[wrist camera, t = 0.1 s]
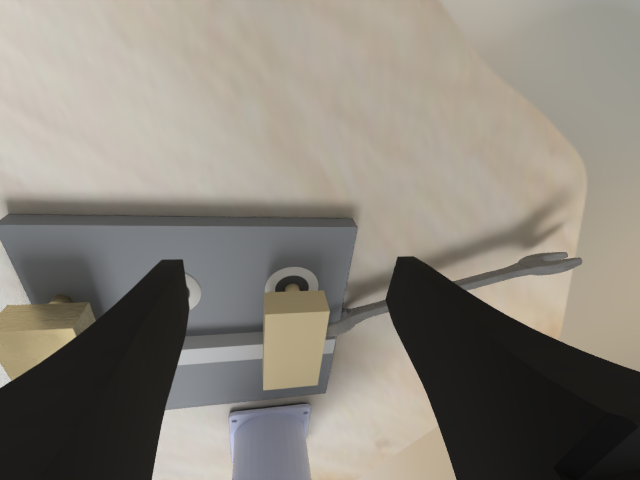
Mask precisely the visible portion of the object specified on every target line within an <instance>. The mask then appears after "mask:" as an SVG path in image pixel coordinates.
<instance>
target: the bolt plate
mask: <svg viewBox="0 0 640 480" xmlns="http://www.w3.org/2000/svg"><path fill="white" fill-rule="evenodd" d="M357 228H358V227H357V225H356V224H355V222H354V220H353V219H341V218H259V217H178V216H96V215H15V214H8V215H7V216H5V217H4V218H2V219H1V220H0V240H1V242H2V244H3V246H4V248H5V250H6V252H7V254H8V256H9V258H10V261H11V263H12V265H13V267H14V269H15V271H16V273H17V275H18V277H19V279H20V281H21V283H22V285H23V288H24V290H25V292H26V294H27V296H28V298H29V300H30V302H31V304H49V302H50V301H51V300H52V298H53V297H54V296H55V295H58V294H64V295H67V296H69V297H70V298H71V299H72V301H73V302H72V303H83V302H89V304H90V306H91V309H92V312H93V315H94V318H95V320H97V319H98V318H100V317H101V316H102V315H103V314H104V313H106V312H107V311H108V310H109V309H110V308H111V307H112V306H114V305H115V304H116V303H117V302H118V301H119V300H120V299H121V298H122V297H123V296H124V295H125V294H127V293H128V292H129V291H130V290H131V289H132V288H133V287H134V286H135V285H136V284H137V283H138V282H139V281H140V280H141V279H142V278H143V277H144V276H145V275H146V274H147V273H148V272H149V271H150V270H151V269H152V268H153V267H154V266H155V265H156V264H158V263H159V262H160V261H161V260H163V259H183V263H184V270H185V278H186V285H187V292H188V300H189V307H190V310H189V317H188V324H187V330H186V336H185V340H184V344H183V348H182V351H181V355H180V358H179V362H178V365H177V369H176V372H175V376H174V379H173V383H172V386H171V390H170V393H169V397H168V400H167V404H166V407H165V410H170V409H180V408H189V407H199V406H208V405H218V404H227V403H237V402H246V401H256V400H265V399H275V398H284V397H294V396H303V395H313V394H322V393H326V389H327V383H328V378H329V373H330V368H331V363H332V357H333V352H334V347H335V342H336V337H337V336H331V337H329V336H326V331H327V326H328V324H332V323H335V322H337V321H340V316H341V311H342V306H343V300H344V295H345V290H346V285H347V280H348V274H349V269H350V264H351V259H352V254H353V249H354V243H355V238H356V233H357Z"/></svg>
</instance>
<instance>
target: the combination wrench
mask: <svg viewBox="0 0 640 480" xmlns="http://www.w3.org/2000/svg"><path fill="white" fill-rule="evenodd" d="M567 257H568V254H567V253H566V252H554V253H540V254H534V255H530V256H527V257H524V258H522V259H521V260H519V262H518V263H516V264H513V265H511V266H509V267H506V268H503V269H499V270H496V271H491V272H487V273H483V274H479V275H476V276H472V277H468V278H465V279H461V280H457V281H453V282H454V283H455V284H457V285H458V286H460V287H461V288H463V289H464V290H466V291H467V290H471V289H474V288H478V287H482V286H485V285H489V284H493V283H496V282H500V281H504V280H507V279H511V278H515V277H520V276H526V275H550V274H557V273H561V272H565V271H568V270H570V269H573V268H575V267H576V266H579V265H580V264H582V259H581V258H570V259H564V258H567ZM561 259H562V260H561ZM387 312H389V310H388V307H387V303H386V300H383V301H379V302H376V303H372V304H368V305H365V306H361V307H357V308H353V309H342V311H341V316H340V321H337V322H335V323H332V324H328V326H327V331H326V336H329V337H331V336H337V335H340V334H343V333H345V332H347V331H348V330H350V329H351V328H353V327H354V326H355V324H357V323H359V322H361V321H362V320H364V319H367V318H369V317H372V316H376V315H379V314H383V313H387Z"/></svg>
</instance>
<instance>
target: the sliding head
mask: <svg viewBox="0 0 640 480" xmlns="http://www.w3.org/2000/svg"><path fill="white" fill-rule="evenodd" d="M72 302H73V301H72V299H71V298H70V297H69V296H67V295H64V294H58V295H55V296H54V297H53V298H52V300H51V301H50V302H49V304H30V305H7V306H6V307H5V308H4V310H3V311H2V312H1V313H0V363H1V365H2V366H3V368H4V369H5V371H6V373H7V374H8V376H9V377H10V379H11V381H12V380H14V379H15V378H17V377H19V376H20V375H22V374H23V373H25V372H26V371H28V370H29V369H31V368H33V367H34V366H36V365H37V364H39V363H40V362H42V361H43V360H45V359H46V358H48V357H49V356H50V355H52V354H53V353H55V352H56V351H57V350H59V349H60V348H62V347H63V346H64V345H66V344H67V343H68V342H70V341H71V340H72V339H74V338H75V337H76V336H78V335H79V334H80V333H82V332H83V331H84V330H85V329H87V328H88V327H89V326H90V325H91V324H93V323H94V322H95V321H96V320H95V318H94V315H93V312H92V309H91V306H90V304H89V302H83V303H72Z"/></svg>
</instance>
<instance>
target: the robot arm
mask: <svg viewBox="0 0 640 480" xmlns="http://www.w3.org/2000/svg"><path fill="white" fill-rule="evenodd" d="M386 303H387V307H388V310H389V313H390V316H391V319H392V322H393V325H394V327H395V329H396V331H397V333H398V335H399V337H400V339H401V341H402V343H403V345H404V347H405V349H406V351H407V353H408V355H409V357H410V359H411V361H412V363H413V366H414V368H415V370H416V372H417V374H418V376H419V378H420V380H421V382H422V384H423V386H424V388H425V391H426V393H427V395H428V398H429V401H430V403H431V406H432V409H433V411H434V414H435V417H436V419H437V422H438V425H439V428H440V430H441V433H442V436H443V439H444V442H445V445H446V448H447V451H448V454H449V457H450V460H451V463H452V467H453V469H454V473H455V476H456V479H457V480H640V372H638V371H635V370H632V369H629V368H626V367H623V366H621V365H618V364H615V363H612V362H610V361H607V360H604V359H602V358H599V357H596V356H594V355H591V354H589V353H586V352H584V351H581V350H579V349H577V348H574V347H572V346H569V345H567V344H565V343H563V342H560V341H558V340H556V339H554V338H551V337H549V336H547V335H545V334H543V333H541V332H538V331H536V330H534V329H532V328H530V327H528V326H526V325H524V324H522V323H521V322H519V321H517V320H515V319H513V318H511V317H509V316H507V315H505V314H504V313H502V312H500V311H498V310H497V309H495V308H493V307H492V306H490V305H488V304H487V303H485V302H483V301H482V300H480V299H478V298H477V297H475V296H474V295H472V294H470V293H469V292H467V291H466V290H464V289H463V288H461V287H460V286H458V285H457V284H455V283H454V282H452V281H451V280H449V279H448V278H446V277H445V276H443V275H442V274H440V273H439V272H437V271H436V270H434V269H433V268H431V267H430V266H428V265H427V264H425V263H424V262H422V261H421V260H419V259H417V258H415V257H413V256H412V257H398V258H397V261H396V265H395V268H394V272H393V275H392V279H391V282H390V286H389V289H388V293H387V296H386ZM189 310H190V307H189V300H188V292H187V285H186V278H185V270H184V263H183V259H163V260H161V261H160V262H159V263H158V264H156V265H155V266H154V267H153V268H152V269H151V270H150V271H149V272H148V273H147V274H146V275H145V276H144V277H143V278H142V279H141V280H140V281H139V282H138V283H137V284H136V285H135V286H134V287H133V288H132V289H131V290H130V291H129V292H128V293H127V294H125V295H124V296H123V297H122V298H121V299H120V300H119V301H118V302H117V303H116V304H115V305H114V306H112V307H111V308H110V309H109V310H108V311H107V312H106V313H104V314H103V315H102V316H101V317H100V318H98V319H97V320H96V321H95V322H94V323H93V324H91V325H90V326H89V327H88V328H87V329H85V330H84V331H83V332H82V333H80V334H79V335H78V336H76V337H75V338H74V339H72V340H71V341H70V342H68V343H67V344H66V345H64V346H63V347H62V348H60V349H59V350H57V351H56V352H55V353H53V354H52V355H50V356H49V357H48V358H46V359H45V360H43V361H42V362H40V363H39V364H37V365H36V366H34V367H33V368H31V369H29V370H28V371H26V372H25V373H23V374H22V375H20V376H19V377H17V378H15V379H14V380H12V381H11V382H9V383H8V384H6V385H5V386H3V387H1V388H0V480H152V474H153V468H154V463H155V457H156V451H157V446H158V440H159V435H160V430H161V424H162V420H163V416H164V411H165V407H166V404H167V400H168V397H169V393H170V390H171V386H172V383H173V379H174V376H175V372H176V369H177V365H178V362H179V358H180V355H181V351H182V348H183V344H184V340H185V336H186V330H187V324H188V317H189ZM310 410H311V408H310V405H309V404H299V405H290V406H281V407H272V408H263V409H253V410H244V411H235V412H231V413H230V414H229V429H230V443H231V457H232V463H233V474H232V480H311V474H310V467H309V459H308V452H307V445H306V436H307V429H308V423H309V417H310Z"/></svg>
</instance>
